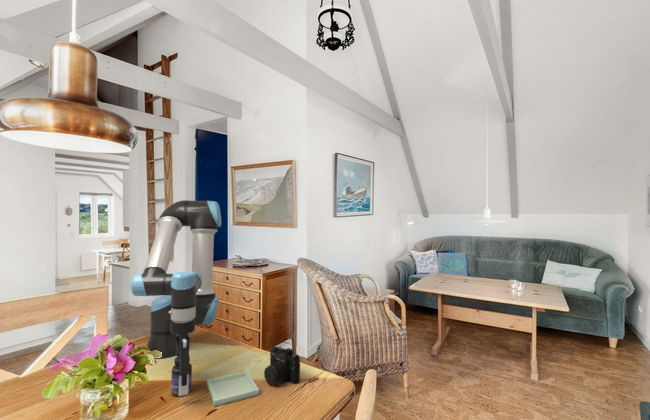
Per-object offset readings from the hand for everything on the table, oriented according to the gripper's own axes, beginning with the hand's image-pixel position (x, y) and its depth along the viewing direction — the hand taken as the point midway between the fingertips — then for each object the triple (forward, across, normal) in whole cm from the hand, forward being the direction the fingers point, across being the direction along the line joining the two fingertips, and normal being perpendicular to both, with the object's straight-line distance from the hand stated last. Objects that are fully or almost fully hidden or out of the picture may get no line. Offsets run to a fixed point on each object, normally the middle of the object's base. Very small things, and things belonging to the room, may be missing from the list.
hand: (181, 384), depth 106 cm
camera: (+3, +6, +31) cm, 32 cm away
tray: (+2, +6, +15) cm, 16 cm away
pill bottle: (+3, 0, 0) cm, 3 cm away
